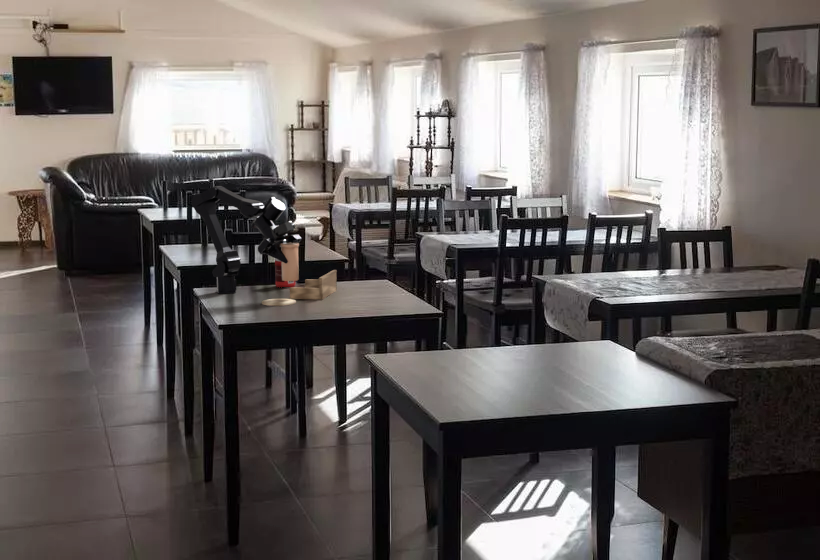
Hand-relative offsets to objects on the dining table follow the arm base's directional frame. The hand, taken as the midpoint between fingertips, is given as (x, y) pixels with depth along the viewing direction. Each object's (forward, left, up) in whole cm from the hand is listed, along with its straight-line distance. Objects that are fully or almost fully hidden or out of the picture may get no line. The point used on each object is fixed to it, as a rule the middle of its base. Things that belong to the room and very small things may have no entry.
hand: (292, 261), depth 395 cm
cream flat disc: (-6, -5, -14) cm, 16 cm away
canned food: (+4, +33, -14) cm, 36 cm away
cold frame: (+9, +10, -14) cm, 19 cm away
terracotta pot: (-1, +1, -7) cm, 7 cm away
